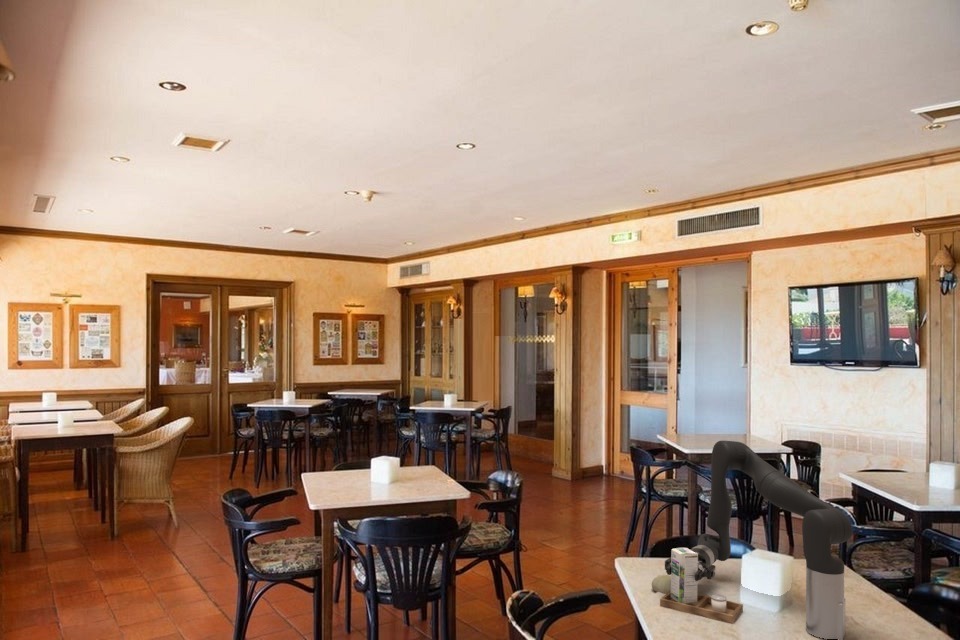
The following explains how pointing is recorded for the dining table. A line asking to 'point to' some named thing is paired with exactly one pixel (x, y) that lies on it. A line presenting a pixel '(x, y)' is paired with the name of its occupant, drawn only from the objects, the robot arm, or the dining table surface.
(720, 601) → the translucent white cylinder
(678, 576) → the syrup box
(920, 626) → the dining table surface
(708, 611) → the caddy
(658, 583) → the sea urchin shell
